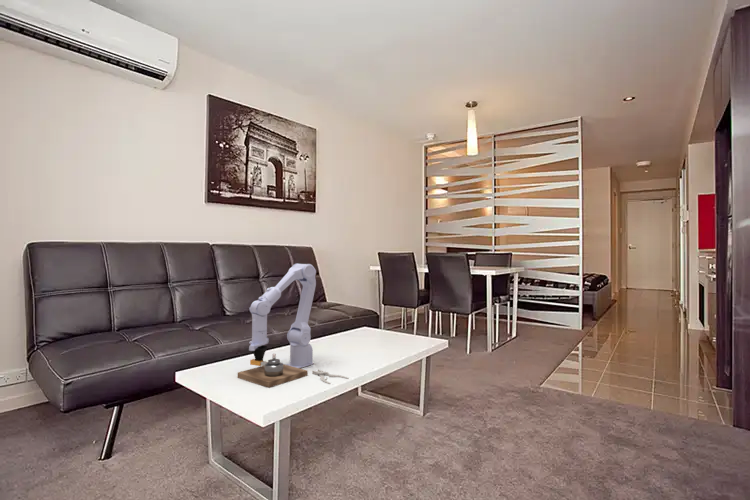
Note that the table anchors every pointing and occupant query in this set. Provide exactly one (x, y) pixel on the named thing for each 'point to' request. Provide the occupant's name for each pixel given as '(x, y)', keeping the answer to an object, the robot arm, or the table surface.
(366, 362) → the table surface
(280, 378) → the bench block
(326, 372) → the pliers
